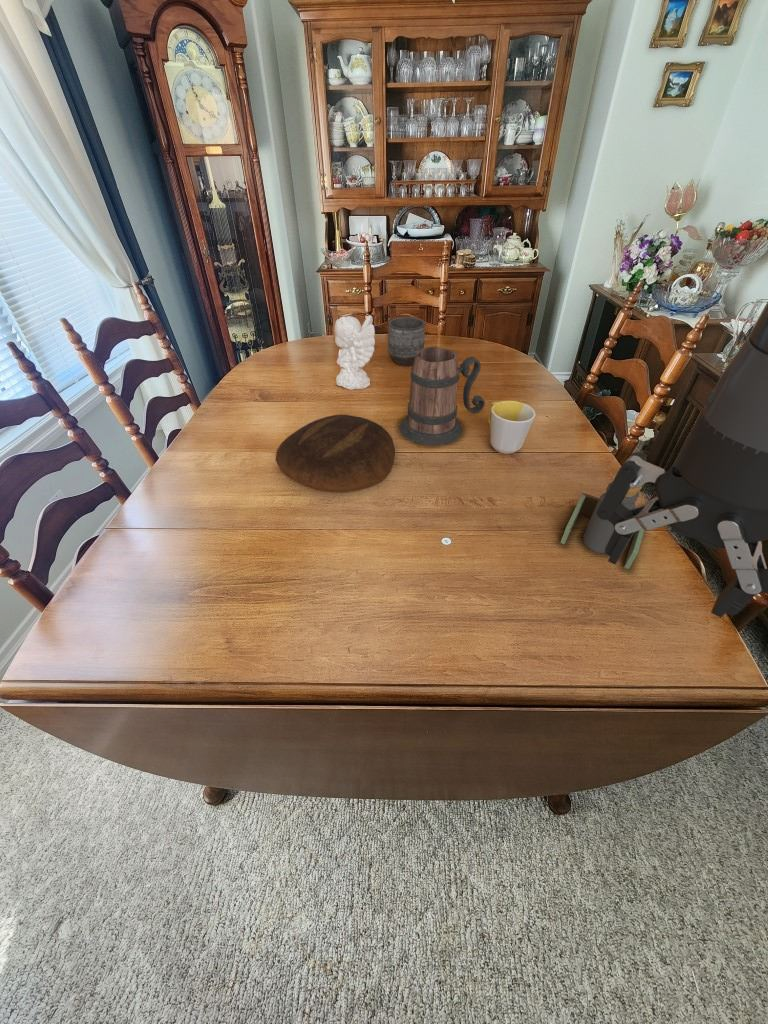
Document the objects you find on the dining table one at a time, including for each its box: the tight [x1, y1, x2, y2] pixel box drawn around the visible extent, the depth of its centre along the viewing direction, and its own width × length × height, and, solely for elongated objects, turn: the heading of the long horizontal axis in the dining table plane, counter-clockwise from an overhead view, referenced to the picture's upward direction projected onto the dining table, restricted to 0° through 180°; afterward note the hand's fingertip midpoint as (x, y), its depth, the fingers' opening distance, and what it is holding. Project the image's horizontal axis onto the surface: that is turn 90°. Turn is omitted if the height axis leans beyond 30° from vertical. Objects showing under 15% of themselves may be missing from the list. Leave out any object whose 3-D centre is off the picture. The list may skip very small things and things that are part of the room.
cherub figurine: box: [334, 314, 376, 391], centre depth 130 cm, size 13×12×20 cm
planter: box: [387, 316, 426, 367], centre depth 143 cm, size 12×12×13 cm
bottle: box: [582, 474, 643, 554], centre depth 78 cm, size 6×6×15 cm
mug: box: [487, 400, 536, 455], centre depth 105 cm, size 14×10×10 cm
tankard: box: [399, 346, 486, 446], centre depth 109 cm, size 24×17×20 cm
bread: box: [275, 414, 396, 493], centre depth 101 cm, size 28×27×9 cm
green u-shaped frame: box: [559, 492, 646, 570], centre depth 83 cm, size 12×12×4 cm
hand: (663, 582), depth 38 cm, fingers open, 8 cm apart
